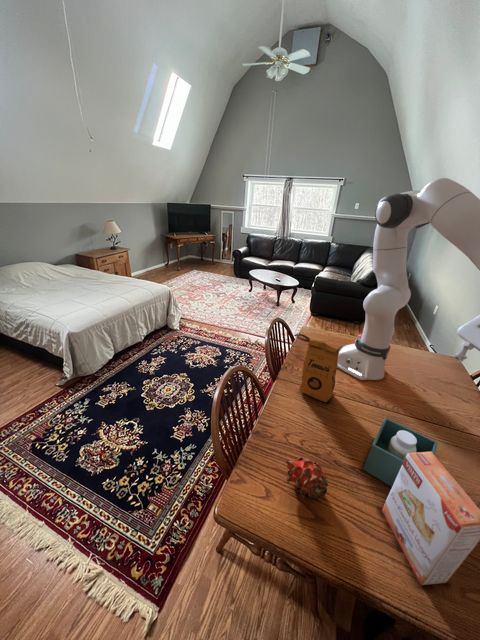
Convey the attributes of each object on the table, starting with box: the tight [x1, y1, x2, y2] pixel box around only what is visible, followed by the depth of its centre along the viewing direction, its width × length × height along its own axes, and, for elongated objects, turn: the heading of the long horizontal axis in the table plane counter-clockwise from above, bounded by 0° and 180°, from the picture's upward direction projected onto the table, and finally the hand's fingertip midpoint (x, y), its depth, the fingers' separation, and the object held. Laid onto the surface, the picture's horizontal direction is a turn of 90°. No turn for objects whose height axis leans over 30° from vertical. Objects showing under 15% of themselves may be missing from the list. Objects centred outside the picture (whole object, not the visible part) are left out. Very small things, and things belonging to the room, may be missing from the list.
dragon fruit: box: [285, 456, 329, 501], centre depth 68 cm, size 8×8×12 cm
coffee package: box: [298, 338, 339, 403], centre depth 98 cm, size 10×12×22 cm
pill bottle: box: [387, 430, 417, 460], centre depth 73 cm, size 6×6×11 cm
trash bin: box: [362, 417, 439, 488], centre depth 73 cm, size 13×13×10 cm
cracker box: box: [381, 452, 480, 586], centre depth 54 cm, size 14×6×21 cm, turn 5°
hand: (473, 371), depth 64 cm, fingers open, 8 cm apart
